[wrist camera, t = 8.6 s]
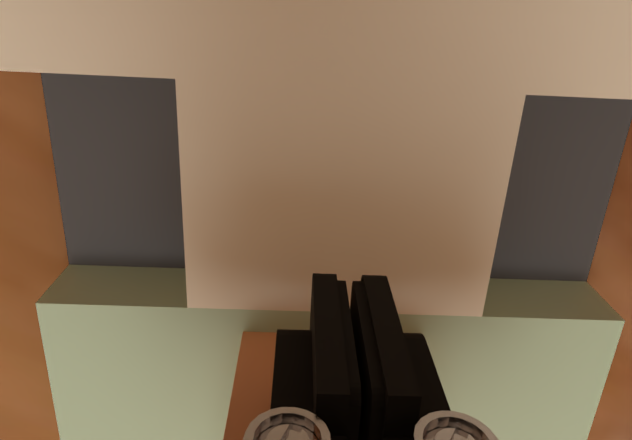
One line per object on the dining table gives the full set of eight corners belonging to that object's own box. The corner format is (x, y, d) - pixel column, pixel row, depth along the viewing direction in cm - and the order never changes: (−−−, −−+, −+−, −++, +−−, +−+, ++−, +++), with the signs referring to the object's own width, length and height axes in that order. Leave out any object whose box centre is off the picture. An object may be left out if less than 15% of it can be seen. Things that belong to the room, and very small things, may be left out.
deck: (-2, -253, 12) (-76, -313, 9) (713, -204, 12) (808, -250, 10) (99, 444, 19) (72, 504, 17) (533, 453, 20) (563, 512, 18)
